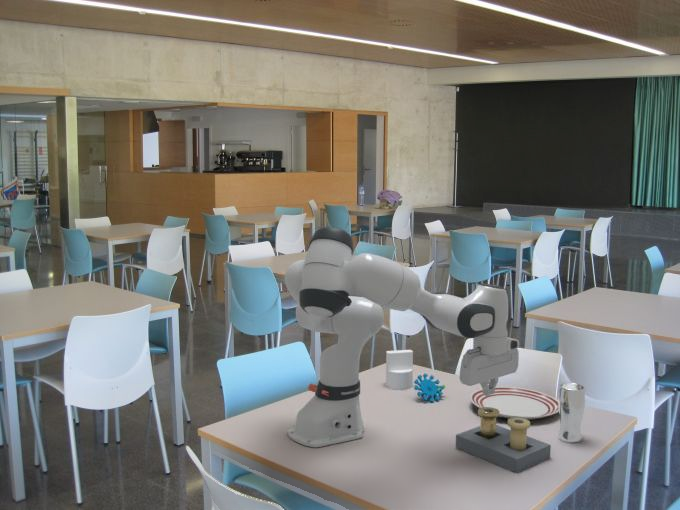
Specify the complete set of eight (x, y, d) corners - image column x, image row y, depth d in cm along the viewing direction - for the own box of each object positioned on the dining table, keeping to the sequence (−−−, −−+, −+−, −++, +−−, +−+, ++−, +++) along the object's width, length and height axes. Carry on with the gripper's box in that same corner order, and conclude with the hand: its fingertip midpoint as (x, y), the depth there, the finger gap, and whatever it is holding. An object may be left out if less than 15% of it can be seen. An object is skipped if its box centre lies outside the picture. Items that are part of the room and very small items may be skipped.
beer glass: (552, 434, 199) (554, 382, 197) (576, 433, 200) (579, 382, 198) (562, 444, 192) (564, 390, 190) (587, 443, 193) (589, 390, 191)
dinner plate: (532, 392, 235) (532, 382, 235) (579, 421, 209) (579, 410, 209) (455, 399, 229) (455, 389, 228) (493, 430, 203) (494, 419, 202)
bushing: (489, 452, 187) (490, 415, 186) (472, 445, 191) (473, 410, 190) (502, 446, 191) (503, 411, 189) (485, 440, 195) (487, 405, 194)
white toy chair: (390, 390, 236) (390, 356, 235) (383, 382, 245) (383, 348, 243) (415, 389, 238) (416, 354, 236) (407, 380, 247) (408, 347, 245)
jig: (550, 457, 184) (551, 420, 182) (516, 472, 175) (518, 434, 174) (489, 434, 199) (490, 400, 198) (455, 447, 190) (456, 411, 189)
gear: (419, 400, 222) (412, 372, 228) (411, 408, 227) (405, 380, 232) (450, 400, 226) (442, 373, 232) (442, 409, 230) (435, 381, 236)
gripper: (473, 353, 178) (472, 406, 180) (523, 340, 191) (521, 389, 193) (454, 348, 183) (453, 399, 185) (504, 335, 196) (503, 384, 198)
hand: (488, 394), depth 189 cm, fingers closed
